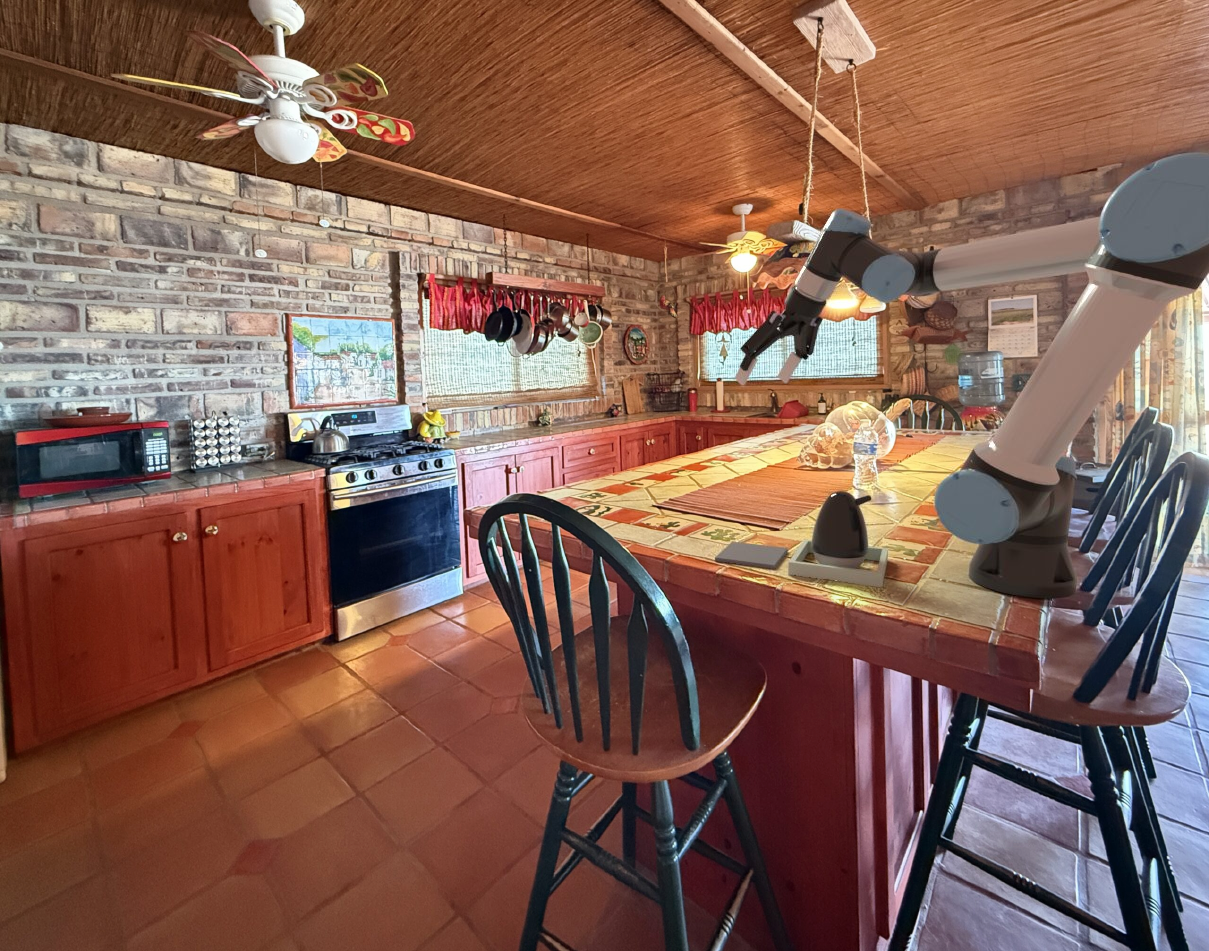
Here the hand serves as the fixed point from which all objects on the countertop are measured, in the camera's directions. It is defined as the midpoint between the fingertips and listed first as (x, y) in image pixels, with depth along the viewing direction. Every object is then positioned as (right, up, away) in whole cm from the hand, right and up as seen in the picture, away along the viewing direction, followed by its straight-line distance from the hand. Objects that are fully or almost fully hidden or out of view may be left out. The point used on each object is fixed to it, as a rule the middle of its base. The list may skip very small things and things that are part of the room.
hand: (761, 380), depth 125 cm
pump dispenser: (+11, -39, -16) cm, 44 cm away
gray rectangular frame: (+11, -39, -16) cm, 44 cm away
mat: (-4, -38, -8) cm, 39 cm away
